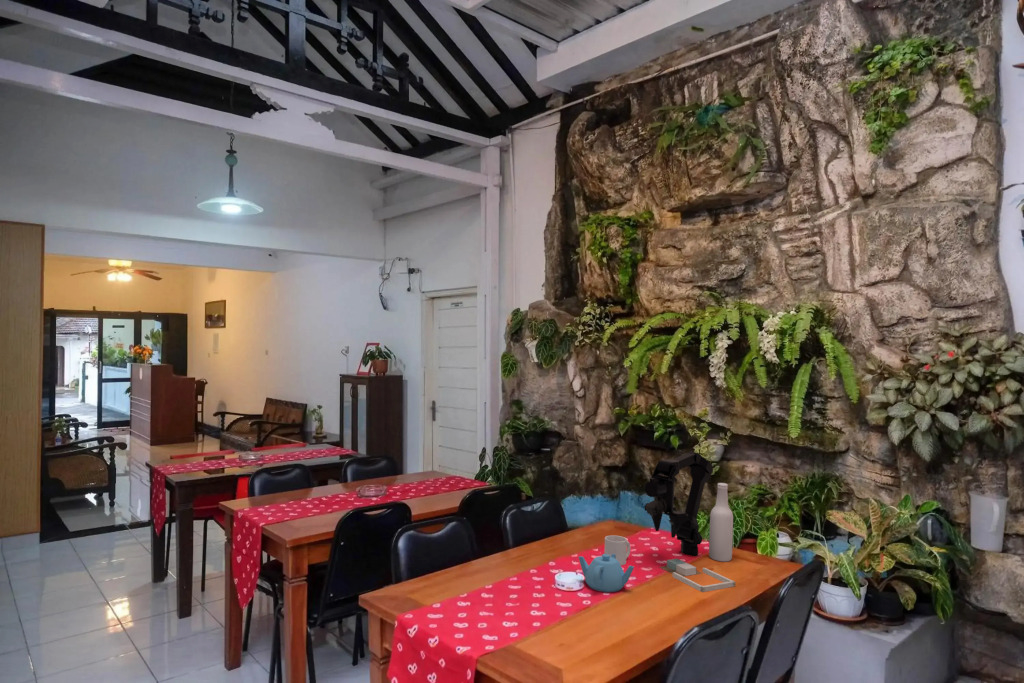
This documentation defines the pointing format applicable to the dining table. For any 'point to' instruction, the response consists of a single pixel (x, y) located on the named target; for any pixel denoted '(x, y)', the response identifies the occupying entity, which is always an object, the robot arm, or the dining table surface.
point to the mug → (617, 547)
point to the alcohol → (721, 527)
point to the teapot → (605, 573)
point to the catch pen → (726, 584)
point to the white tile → (685, 569)
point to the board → (675, 571)
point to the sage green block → (674, 563)
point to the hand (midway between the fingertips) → (664, 534)
